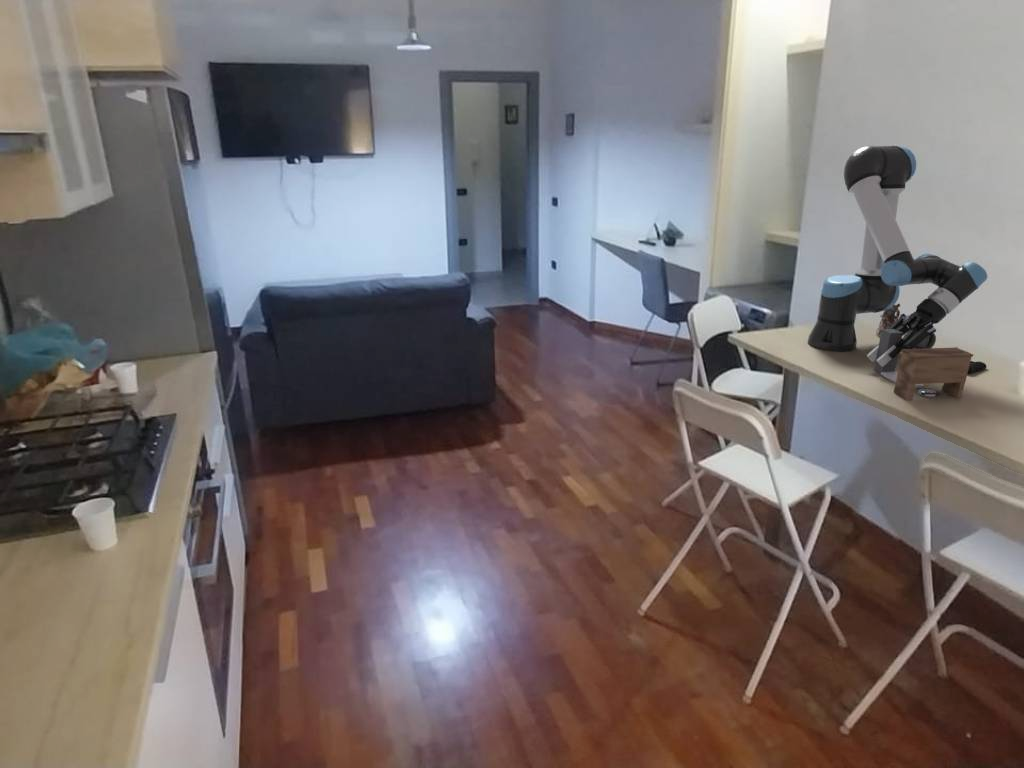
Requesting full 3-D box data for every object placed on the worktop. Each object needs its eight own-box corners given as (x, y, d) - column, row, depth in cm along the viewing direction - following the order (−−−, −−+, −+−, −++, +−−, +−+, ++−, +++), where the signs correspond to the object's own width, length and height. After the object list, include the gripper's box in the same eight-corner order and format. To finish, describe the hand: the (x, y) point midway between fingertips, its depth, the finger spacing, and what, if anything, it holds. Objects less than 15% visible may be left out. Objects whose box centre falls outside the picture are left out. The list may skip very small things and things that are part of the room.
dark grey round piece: (914, 393, 191) (915, 389, 190) (930, 392, 191) (930, 388, 190) (923, 398, 187) (924, 394, 186) (939, 398, 187) (940, 394, 186)
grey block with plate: (872, 370, 208) (880, 329, 204) (887, 369, 209) (895, 329, 204) (906, 388, 193) (916, 345, 189) (923, 387, 194) (932, 344, 189)
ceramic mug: (922, 344, 233) (926, 323, 231) (934, 352, 226) (938, 329, 223) (890, 344, 234) (894, 323, 232) (900, 351, 227) (905, 329, 224)
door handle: (930, 344, 227) (904, 349, 219) (995, 360, 211) (970, 366, 203) (927, 354, 228) (901, 359, 220) (992, 371, 212) (967, 377, 204)
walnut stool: (892, 391, 191) (901, 349, 186) (945, 389, 193) (956, 347, 188) (907, 400, 185) (917, 356, 180) (962, 397, 187) (973, 354, 182)
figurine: (871, 333, 247) (878, 301, 243) (891, 333, 247) (897, 301, 242) (881, 338, 240) (888, 306, 236) (901, 339, 240) (908, 306, 236)
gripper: (910, 291, 208) (851, 344, 211) (951, 304, 192) (886, 362, 196) (923, 307, 210) (863, 360, 214) (964, 322, 194) (899, 378, 198)
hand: (874, 360), depth 205 cm, fingers closed on grey block with plate, 4 cm apart
